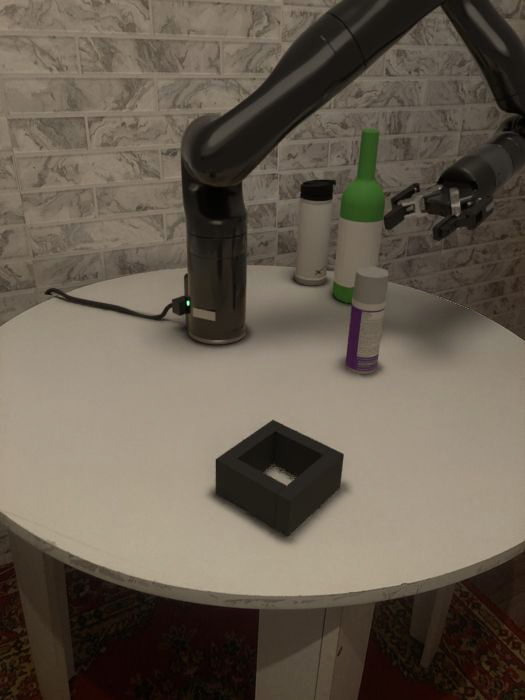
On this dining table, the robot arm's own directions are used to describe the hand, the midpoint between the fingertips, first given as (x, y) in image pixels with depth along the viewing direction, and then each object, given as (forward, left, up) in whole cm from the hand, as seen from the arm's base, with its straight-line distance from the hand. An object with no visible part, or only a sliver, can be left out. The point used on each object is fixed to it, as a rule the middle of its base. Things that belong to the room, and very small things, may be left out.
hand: (409, 229), depth 84 cm
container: (-1, -8, -20) cm, 21 cm away
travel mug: (-29, +14, -20) cm, 38 cm away
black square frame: (+9, -37, -20) cm, 43 cm away
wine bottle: (-18, +13, -20) cm, 30 cm away
